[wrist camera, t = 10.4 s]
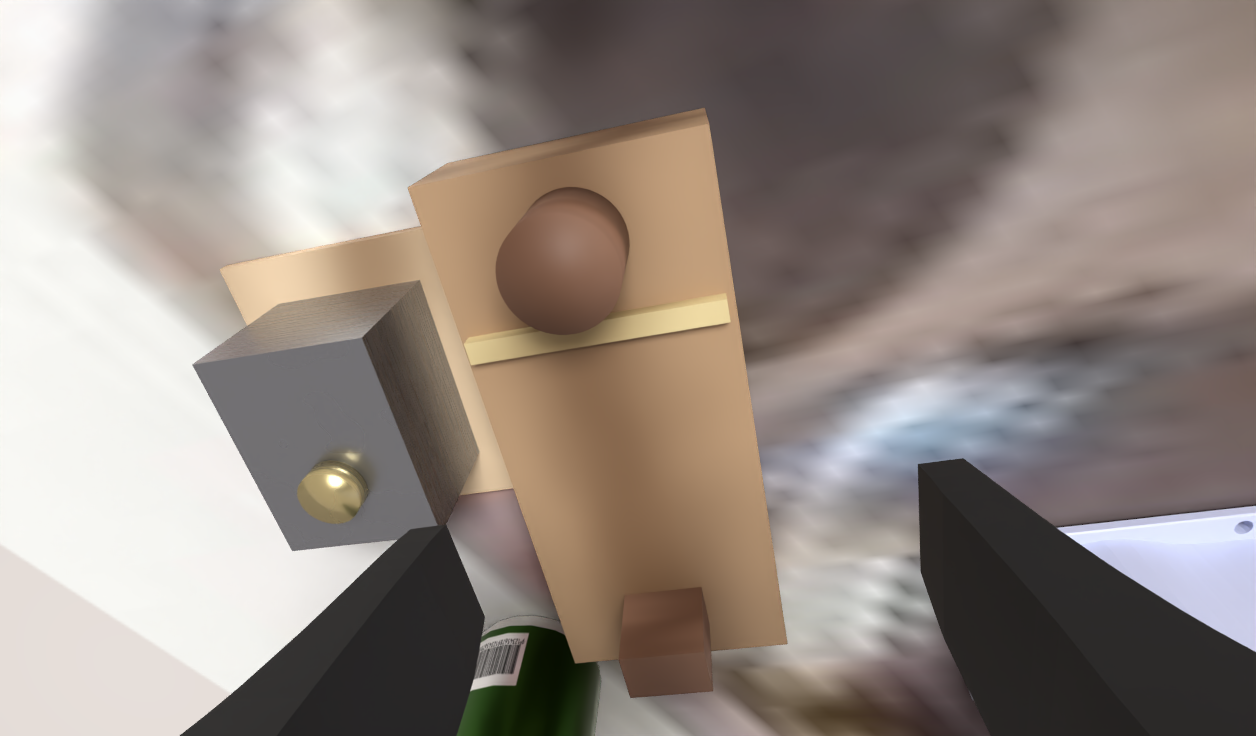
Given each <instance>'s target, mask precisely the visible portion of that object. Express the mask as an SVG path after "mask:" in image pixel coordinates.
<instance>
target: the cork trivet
mask: <svg viewBox="0 0 1256 736" xmlns="http://www.w3.org/2000/svg"><path fill="white" fill-rule="evenodd" d="M220 272H221V274H222V276H223V278H224V280H225V282H226V284H227V286H228V288H229V290H230V292H231V294H232V296H233V298H234V300H235V302H236V304H237V306H238V308H239V310H240V312H241V314H242V316H243V318H244V320H245V322H246V324H247V326H248V325H249V324H251V323H252V322H253V321H255V320H256V319H258V318H259V317H261V316H262V315H263V314H265V313H266V312H268V311H269V310H270V309H272V308H273V307H275V306H276V305H278V304H281V303H287V302H293V301H298V300H304V299H310V298H316V297H322V296H328V295H334V294H340V293H346V292H351V291H357V290H363V289H369V288H375V287H381V286H387V285H393V284H398V283H404V282H410V281H416V280H420V282H421V285H422V288H423V291H424V293H425V296H426V299H427V302H428V305H429V308H430V311H431V314H432V316H433V319H434V322H435V325H436V328H437V331H438V334H439V337H440V340H441V342H442V345H443V348H444V351H445V354H446V357H447V360H448V363H449V365H450V368H451V371H452V374H453V377H454V380H455V383H456V386H457V388H458V391H459V394H460V397H461V400H462V403H463V406H464V409H465V411H466V414H467V417H468V420H469V423H470V426H471V429H472V432H473V434H474V437H475V440H476V443H477V446H478V449H479V454H478V456H477V459H476V461H475V463H474V465H473V467H472V469H471V471H470V474H469V476H468V478H467V480H466V482H465V484H464V487H463V489H462V491H461V493H460V495H467V494H474V493H482V492H489V491H497V490H504V489H511V488H513V485H512V483H511V480H510V477H509V474H508V471H507V468H506V466H505V463H504V460H503V457H502V454H501V451H500V449H499V446H498V443H497V440H496V437H495V434H494V432H493V429H492V426H491V423H490V420H489V417H488V415H487V412H486V409H485V406H484V403H483V400H482V397H481V395H480V392H479V389H478V386H477V383H476V380H475V378H474V375H473V372H472V369H471V366H470V363H469V361H468V358H467V355H466V352H465V349H464V346H463V344H462V341H461V338H460V335H459V332H458V329H457V327H456V324H455V321H454V318H453V315H452V312H451V310H450V307H449V304H448V301H447V298H446V295H445V293H444V290H443V287H442V284H441V281H440V278H439V276H438V273H437V270H436V267H435V264H434V261H433V258H432V256H431V253H430V250H429V247H428V244H427V241H426V239H425V236H424V233H423V230H422V227H421V226H419V227H414V228H409V229H404V230H400V231H395V232H390V233H385V234H380V235H375V236H370V237H365V238H360V239H355V240H350V241H345V242H340V243H335V244H330V245H325V246H320V247H315V248H310V249H305V250H300V251H296V252H291V253H286V254H281V255H276V256H271V257H266V258H261V259H256V260H251V261H246V262H241V263H236V264H231V265H227V266H225V267H223V268H222V269H220Z"/></svg>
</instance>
